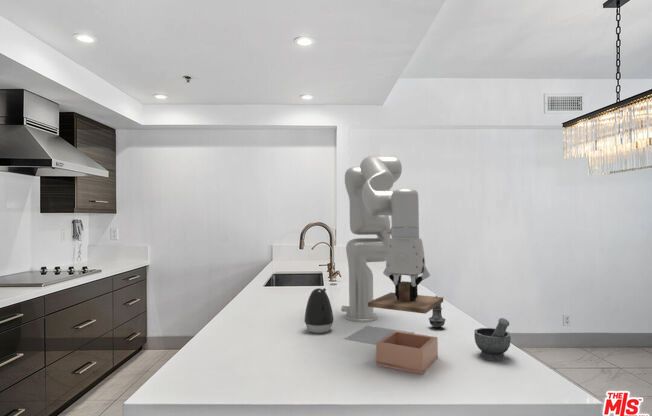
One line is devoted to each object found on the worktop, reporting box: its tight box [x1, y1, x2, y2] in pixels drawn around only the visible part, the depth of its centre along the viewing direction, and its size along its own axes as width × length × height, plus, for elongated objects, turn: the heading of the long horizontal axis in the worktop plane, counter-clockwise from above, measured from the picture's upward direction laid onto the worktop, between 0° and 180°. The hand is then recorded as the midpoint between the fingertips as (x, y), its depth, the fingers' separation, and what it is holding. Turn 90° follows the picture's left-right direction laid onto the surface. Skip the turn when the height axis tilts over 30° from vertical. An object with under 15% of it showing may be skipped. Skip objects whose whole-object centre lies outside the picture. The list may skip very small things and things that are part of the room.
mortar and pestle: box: [473, 317, 512, 362], centre depth 113 cm, size 11×9×12 cm
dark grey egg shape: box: [304, 288, 334, 334], centre depth 140 cm, size 10×10×15 cm
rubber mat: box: [343, 325, 415, 346], centre depth 133 cm, size 18×18×1 cm
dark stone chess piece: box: [428, 295, 446, 331], centre depth 141 cm, size 6×6×12 cm
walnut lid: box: [368, 280, 444, 315], centre depth 111 cm, size 16×16×6 cm
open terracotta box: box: [375, 330, 439, 375], centre depth 110 cm, size 13×13×6 cm
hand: (406, 298), depth 111 cm, fingers closed on walnut lid, 3 cm apart
